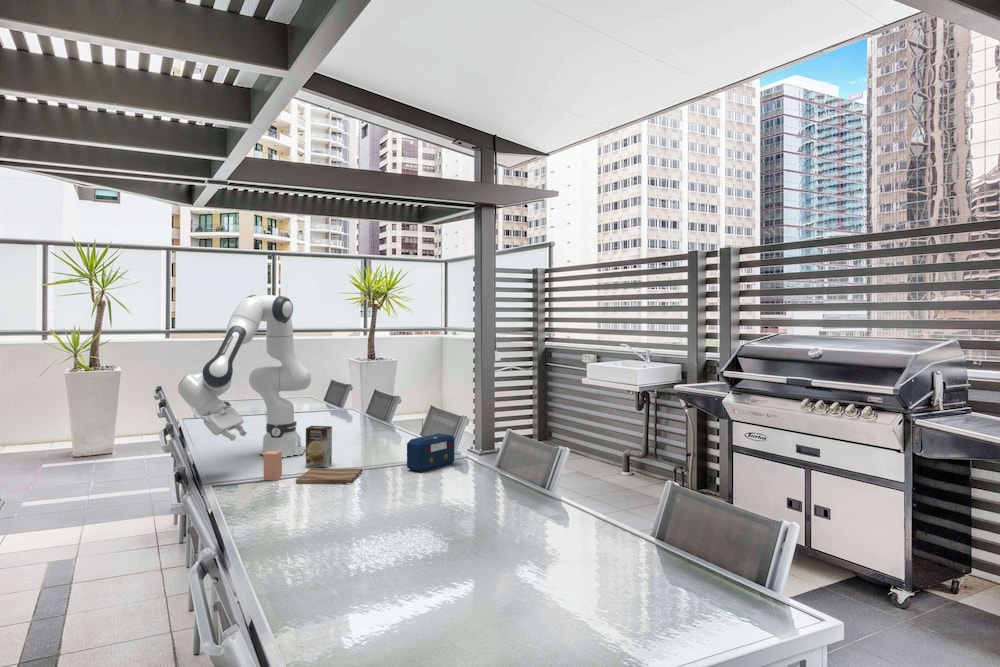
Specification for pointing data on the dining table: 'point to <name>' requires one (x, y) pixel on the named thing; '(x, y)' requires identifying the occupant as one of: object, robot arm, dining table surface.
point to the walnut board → (329, 476)
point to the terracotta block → (272, 465)
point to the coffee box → (318, 446)
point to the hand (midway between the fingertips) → (239, 437)
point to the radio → (430, 452)
